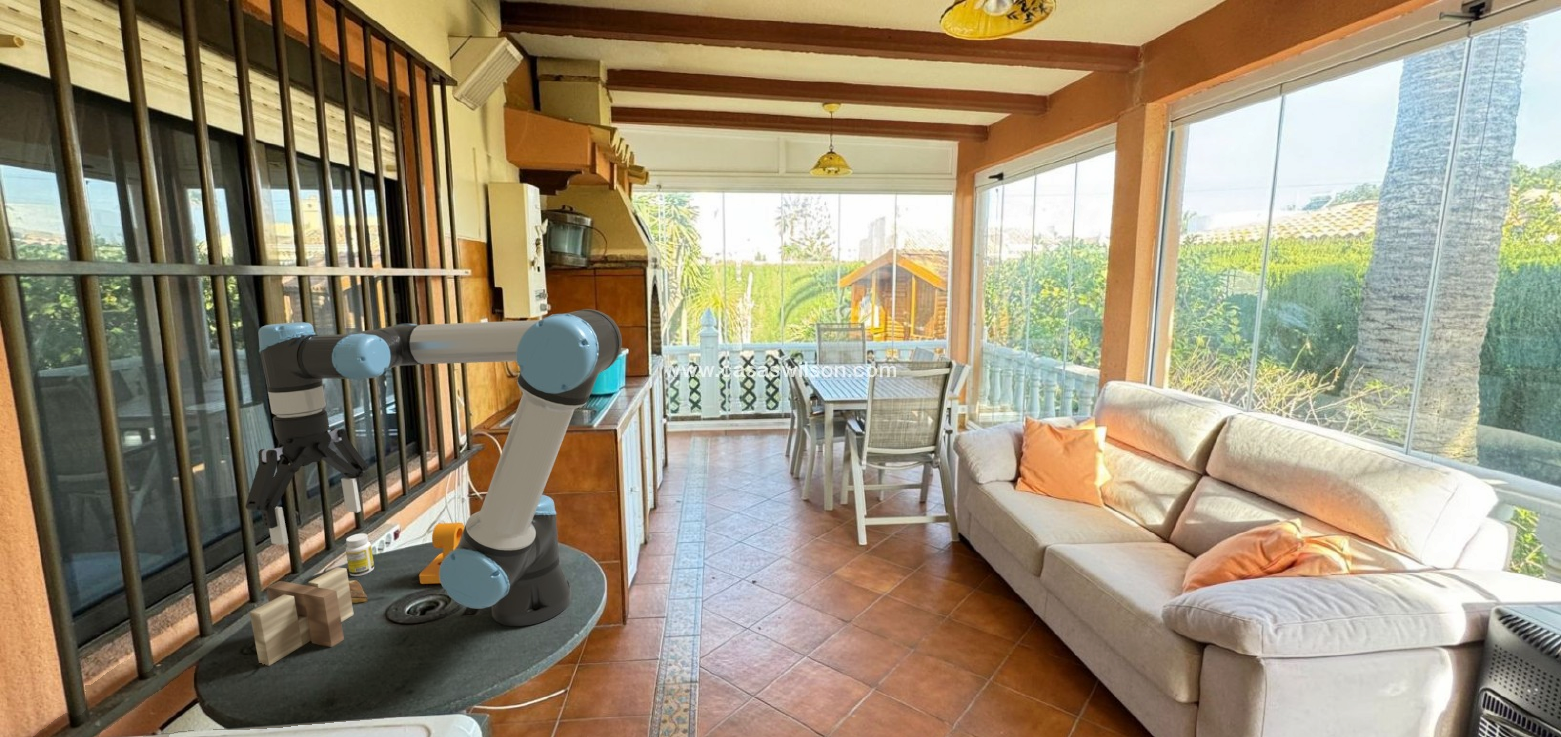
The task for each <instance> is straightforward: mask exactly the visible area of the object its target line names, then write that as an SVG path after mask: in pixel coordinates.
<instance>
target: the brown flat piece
mask: <svg viewBox="0 0 1561 737" xmlns="http://www.w3.org/2000/svg"><path fill="white" fill-rule="evenodd" d="M348 581H349V587H350V594H351V601H352V604H353V603H354V604H356V603H358V604H359V603H366V602H368V596H367V594H366V593H365V592H364V589H363V587H362V585H361V583H360V582H358V580H348Z"/></svg>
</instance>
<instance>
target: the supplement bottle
mask: <svg viewBox="0 0 1561 737" xmlns="http://www.w3.org/2000/svg"><path fill="white" fill-rule="evenodd" d="M368 536H369V535H368V534H367V533H355V534H352V535H350V536H348V537H346V540H345V542H346V547H345V554H346V560H347V569H348V572H349V575H350V576H352V577H359V576H360V577H361V576H363V575H364V576H365V575H368V574H369V573H371V572H372V571H373V570H374V569H375V562H374V557H373V555H374V554H373V549H372V544H371V542H370V541H369V538H368Z"/></svg>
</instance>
